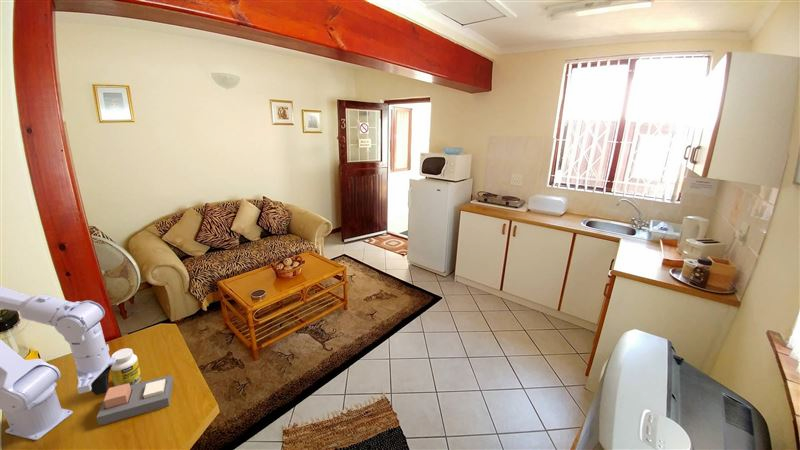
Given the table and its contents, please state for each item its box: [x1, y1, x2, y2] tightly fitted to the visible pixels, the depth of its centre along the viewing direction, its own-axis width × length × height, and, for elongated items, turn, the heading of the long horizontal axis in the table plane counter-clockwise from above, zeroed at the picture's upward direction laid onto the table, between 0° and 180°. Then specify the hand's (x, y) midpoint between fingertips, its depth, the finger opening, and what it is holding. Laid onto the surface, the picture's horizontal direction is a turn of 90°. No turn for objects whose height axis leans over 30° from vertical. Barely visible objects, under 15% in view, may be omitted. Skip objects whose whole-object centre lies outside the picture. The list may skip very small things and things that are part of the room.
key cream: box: [143, 379, 166, 399], centre depth 89 cm, size 4×4×3 cm
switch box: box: [96, 374, 174, 427], centre depth 87 cm, size 15×9×3 cm, turn 119°
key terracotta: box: [103, 383, 131, 409], centre depth 84 cm, size 4×4×3 cm
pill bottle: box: [110, 347, 142, 387], centre depth 92 cm, size 6×6×11 cm
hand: (101, 392), depth 78 cm, fingers closed
